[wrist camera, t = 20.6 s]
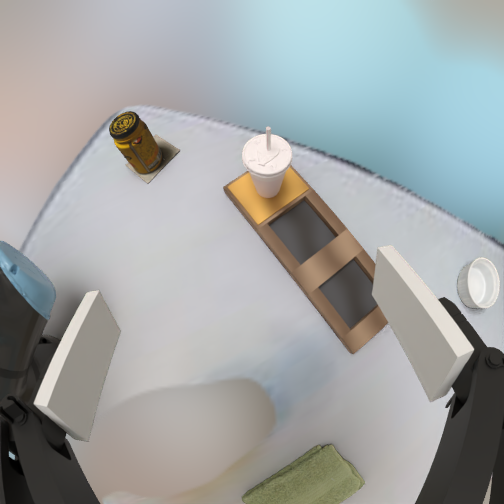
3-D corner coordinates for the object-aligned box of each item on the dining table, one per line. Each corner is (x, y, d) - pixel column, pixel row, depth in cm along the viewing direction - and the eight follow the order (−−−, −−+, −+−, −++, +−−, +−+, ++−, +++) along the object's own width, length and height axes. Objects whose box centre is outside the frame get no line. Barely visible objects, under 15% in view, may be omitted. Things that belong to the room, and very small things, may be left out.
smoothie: (293, 177, 44) (302, 120, 30) (280, 211, 43) (284, 162, 29) (256, 164, 45) (250, 106, 31) (240, 198, 44) (229, 145, 30)
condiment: (125, 165, 49) (97, 130, 38) (156, 135, 51) (134, 95, 39) (148, 184, 48) (119, 148, 36) (180, 151, 49) (160, 109, 38)
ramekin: (458, 315, 39) (472, 313, 35) (450, 266, 41) (463, 261, 37) (488, 304, 39) (503, 301, 35) (480, 259, 41) (494, 253, 37)
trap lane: (349, 352, 39) (354, 354, 37) (224, 192, 46) (222, 186, 44) (400, 306, 40) (406, 305, 38) (277, 158, 48) (277, 150, 45)
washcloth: (367, 478, 34) (372, 486, 30) (283, 528, 32) (283, 538, 28) (325, 435, 36) (330, 443, 33) (236, 490, 34) (234, 499, 31)
